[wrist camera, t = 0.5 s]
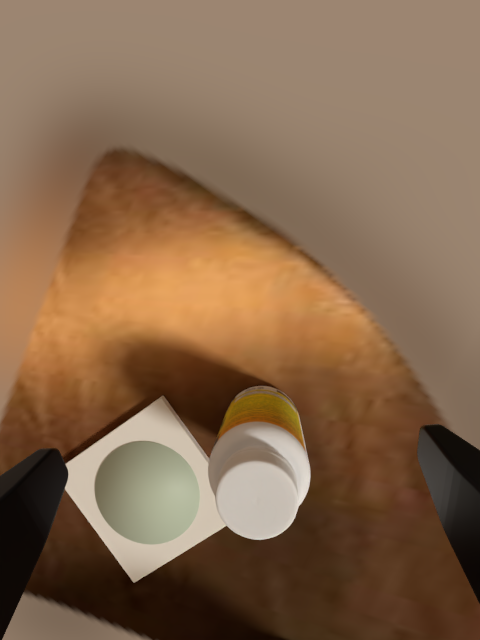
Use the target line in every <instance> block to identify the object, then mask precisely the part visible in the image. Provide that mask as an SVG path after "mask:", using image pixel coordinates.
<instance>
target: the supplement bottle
mask: <svg viewBox="0 0 480 640" xmlns="http://www.w3.org/2000/svg"><path fill="white" fill-rule="evenodd" d="M208 477H209V483H210V486H211V489H212V491H213V494H214V495H215V500H216V507H217V510H218V513H219V515H220V517H221V519H222V520H223V522H224V523H225V524H226V525H227V526H228V527H229V528H230V529H231V530H232V531H234V532H235V533H237V534H238V535H240V536H243V537H246V538H250V539H256V540H261V539H268V538H272V537H275V536H277V535H279V534H281V533H282V532H283V531H285V530H286V529H287V528H288V527H289V526H290V525H291V523H292V522H293V520H294V518H295V516H296V513H297V510H298V507H299V505H300V504H301V503H302V501H303V500H304V498H305V496H306V494H307V491H308V488H309V484H310V465H309V460H308V456H307V451H306V446H305V441H304V436H303V432H302V427H301V423H300V418H299V414H298V411H297V409H296V406H295V405H294V403H293V402H292V400H291V399H290V398H289V397H288V396H287V395H286V394H284V393H283V392H282V391H280V390H278V389H275V388H273V387H269V386H255V387H250V388H248V389H246V390H244V391H242V392H240V393H239V394H238V395H237V396H236V397H235V398H234V399H233V400H232V401H231V403H230V405H229V407H228V409H227V411H226V414H225V417H224V419H223V422H222V425H221V428H220V430H219V433H218V436H217V439H216V441H215V444H214V447H213V449H212V452H211V456H210V459H209V465H208Z"/></svg>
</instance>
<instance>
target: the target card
mask: <svg viewBox="0 0 480 640" xmlns="http://www.w3.org/2000/svg"><path fill="white" fill-rule="evenodd" d="M208 465H209V458H208V457H207V455H206V454H205V452H204V451H203V450H202V448H201V447H200V445H199V444H198V443H197V441H196V440H195V439H194V437H193V436H192V434H191V433H190V432H189V430H188V429H187V427H186V426H185V425H184V423H183V422H182V421H181V419H180V418H179V416H178V415H177V414H176V412H175V411H174V409H173V408H172V407H171V405H170V404H169V402H168V401H167V400H166V398H165V397H164V396H161V397H160V398H159V399H157V400H156V401H154V402H153V403H151V404H150V405H149V406H147V407H146V408H144V409H143V410H141V411H140V412H139V413H137V414H136V415H134V416H133V417H131V418H130V419H129V420H127V421H126V422H124V423H123V424H121V425H120V426H119V427H117V428H116V429H114V430H113V431H111V432H110V433H109V434H107V435H106V436H104V437H103V438H101V439H100V440H98V441H97V442H96V443H94V444H93V445H91V446H90V447H88V448H87V449H86V450H84V451H83V452H81V453H80V454H78V455H77V456H76V457H74V458H73V459H71V460H70V461H68V462H67V463H66V467H67V469H68V481H67V484H66V486H65V490H66V491H67V492H68V494H69V495H70V497H71V498H72V499H73V501H74V502H75V503H76V505H77V506H78V507H79V509H80V510H81V512H82V513H83V514H84V516H85V517H86V518H87V520H88V521H89V522H90V524H91V525H92V527H93V528H94V529H95V531H96V532H97V533H98V535H99V536H100V537H101V539H102V540H103V542H104V543H105V544H106V546H107V547H108V548H109V550H110V551H111V552H112V554H113V555H114V557H115V558H116V559H117V561H118V562H119V563H120V565H121V566H122V568H123V569H124V570H125V572H126V573H127V574H128V576H129V577H130V578H131V580H132V581H133V583H135V582H136V581H138V580H140V579H141V578H143V577H144V576H146V575H148V574H149V573H151V572H153V571H154V570H156V569H157V568H159V567H161V566H162V565H164V564H165V563H167V562H169V561H170V560H172V559H173V558H175V557H177V556H178V555H180V554H182V553H183V552H185V551H186V550H188V549H190V548H191V547H193V546H194V545H196V544H198V543H199V542H201V541H202V540H204V539H206V538H207V537H209V536H211V535H212V534H214V533H215V532H217V531H219V530H220V529H222V528H223V527H225V526H227V525H226V524H225V523H224V522H223V520H222V519H221V517H220V515H219V513H218V510H217V507H216V500H215V495H214V494H213V491H212V489H211V486H210V483H209V477H208Z"/></svg>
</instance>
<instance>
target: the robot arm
mask: <svg viewBox="0 0 480 640" xmlns="http://www.w3.org/2000/svg"><path fill="white" fill-rule="evenodd" d="M417 454H418V460H419V463H420V466H421V469H422V471H423V474H424V477H425V480H426V482H427V485H428V488H429V491H430V493H431V496H432V499H433V502H434V504H435V507H436V510H437V513H438V515H439V518H440V521H441V523H442V526H443V528H444V531H445V533H446V535H447V537H448V539H449V542H450V544H451V546H452V548H453V550H454V552H455V554H456V556H457V558H458V560H459V562H460V564H461V566H462V568H463V570H464V572H465V575H466V577H467V579H468V581H469V583H470V585H471V587H472V589H473V591H474V593H475V595H476V597H477V599H478V601H479V603H480V450H479V449H477V448H476V447H474V446H473V445H471V444H470V443H468V442H467V441H465V440H463V439H462V438H460V437H459V436H457V435H456V434H454V433H453V432H451V431H450V430H448V429H447V428H445V427H444V426H442V425H439V424H434V425H423V426H421V428H420V432H419V441H418V450H417ZM67 481H68V469H67V467H66V464H65V462H64V460H63V458H62V456H61V454H60V452H59V450H58V449H56V448H42V449H39V450H37V451H36V452H34V453H33V454H31V455H30V456H29V457H27V458H26V459H24V460H23V461H21V462H20V463H18V464H17V465H15V466H14V467H13V468H11V469H10V470H8V471H7V472H5V473H4V474H2V475H1V476H0V640H2V638H3V636H4V634H5V632H6V629H7V627H8V625H9V623H10V621H11V618H12V616H13V614H14V612H15V609H16V607H17V605H18V603H19V601H20V598H21V596H22V594H23V592H24V590H25V587H26V585H27V583H28V581H29V579H30V576H31V574H32V572H33V570H34V567H35V565H36V563H37V561H38V559H39V556H40V554H41V552H42V550H43V547H44V545H45V543H46V540H47V537H48V535H49V532H50V529H51V527H52V524H53V521H54V518H55V515H56V512H57V509H58V507H59V504H60V501H61V498H62V495H63V492H64V489H65V486H66V484H67Z"/></svg>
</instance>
